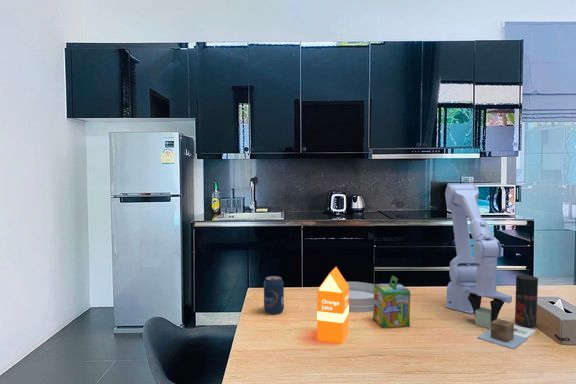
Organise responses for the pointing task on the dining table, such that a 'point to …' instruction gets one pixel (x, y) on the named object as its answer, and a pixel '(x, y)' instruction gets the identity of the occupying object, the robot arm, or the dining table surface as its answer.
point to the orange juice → (333, 308)
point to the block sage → (483, 317)
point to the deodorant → (526, 301)
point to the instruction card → (523, 331)
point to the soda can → (273, 295)
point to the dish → (361, 297)
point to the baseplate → (511, 344)
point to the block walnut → (502, 330)
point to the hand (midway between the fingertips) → (485, 319)
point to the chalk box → (391, 304)
